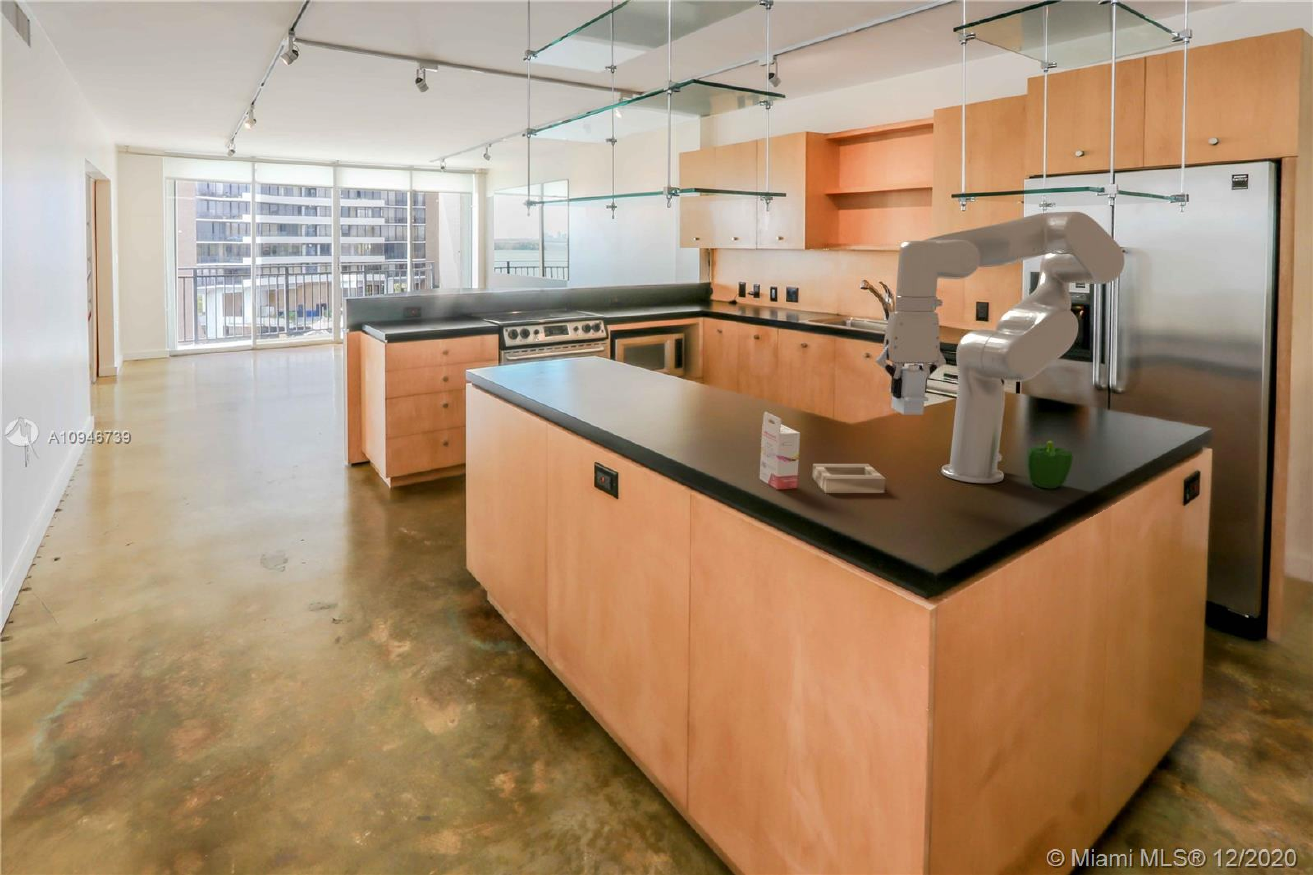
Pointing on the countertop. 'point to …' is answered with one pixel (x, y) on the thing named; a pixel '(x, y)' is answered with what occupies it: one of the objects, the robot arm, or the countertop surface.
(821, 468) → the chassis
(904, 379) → the servo
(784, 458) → the ink cartridge box
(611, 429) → the countertop surface
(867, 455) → the countertop surface
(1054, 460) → the bell pepper
